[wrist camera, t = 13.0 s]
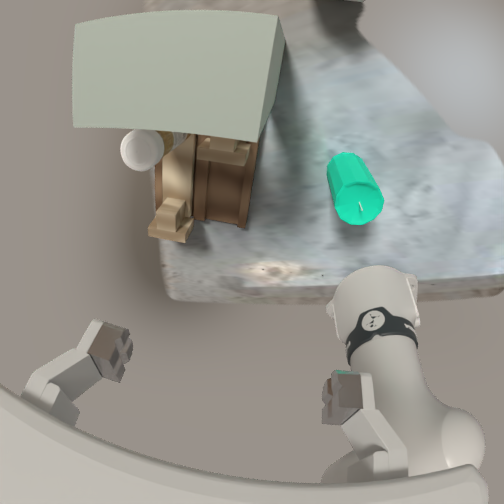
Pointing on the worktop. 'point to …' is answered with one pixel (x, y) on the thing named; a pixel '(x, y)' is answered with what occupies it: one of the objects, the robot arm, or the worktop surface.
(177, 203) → the bottle strip
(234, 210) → the lane board
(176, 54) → the shelf
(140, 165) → the sprinkles bottle
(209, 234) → the worktop surface
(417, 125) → the worktop surface
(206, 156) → the wooden slider block
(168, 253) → the worktop surface
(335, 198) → the candle
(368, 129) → the worktop surface
